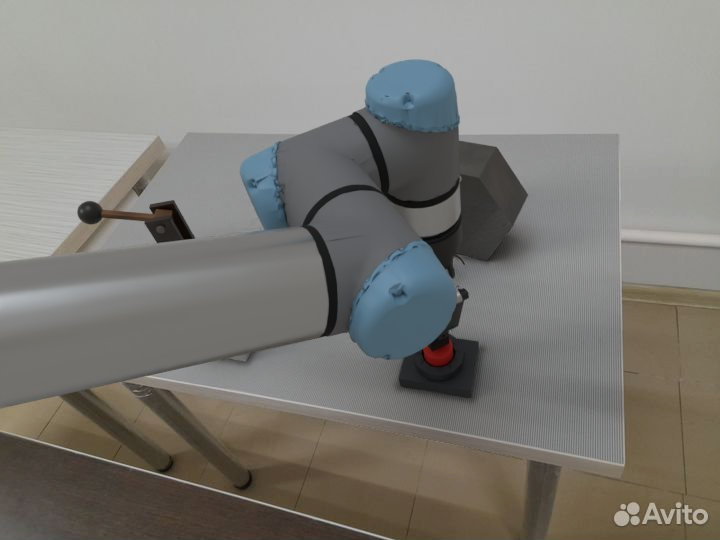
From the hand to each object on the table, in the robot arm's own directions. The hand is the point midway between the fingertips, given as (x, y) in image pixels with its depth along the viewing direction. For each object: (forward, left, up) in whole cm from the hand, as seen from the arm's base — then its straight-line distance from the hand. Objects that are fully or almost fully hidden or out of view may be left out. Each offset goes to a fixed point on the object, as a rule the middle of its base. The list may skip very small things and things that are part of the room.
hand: (438, 343), depth 71 cm
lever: (-36, +46, +5) cm, 59 cm away
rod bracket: (-30, +44, -6) cm, 53 cm away
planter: (+16, +21, -6) cm, 27 cm away
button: (0, 0, -3) cm, 3 cm away
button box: (0, 0, -6) cm, 6 cm away
